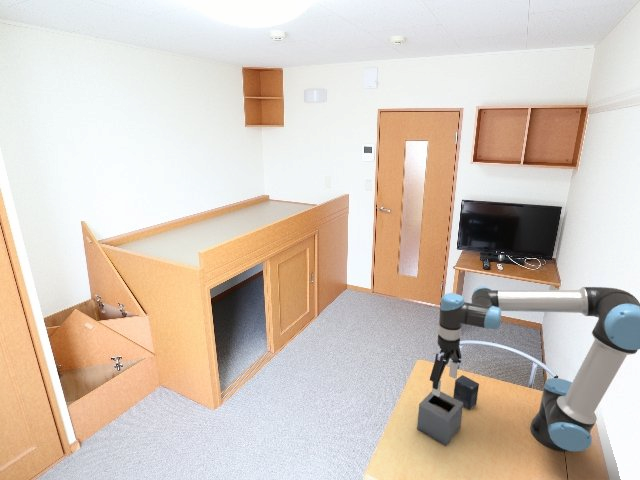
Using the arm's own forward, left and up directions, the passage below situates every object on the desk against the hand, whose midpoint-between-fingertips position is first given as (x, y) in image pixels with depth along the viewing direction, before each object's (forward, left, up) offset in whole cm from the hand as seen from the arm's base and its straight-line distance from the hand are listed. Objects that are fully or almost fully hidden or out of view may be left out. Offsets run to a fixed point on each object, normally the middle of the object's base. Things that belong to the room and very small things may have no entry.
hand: (444, 385), depth 144 cm
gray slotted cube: (0, 0, -20) cm, 20 cm away
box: (-1, -21, -20) cm, 29 cm away
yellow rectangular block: (+1, 0, -19) cm, 19 cm away
